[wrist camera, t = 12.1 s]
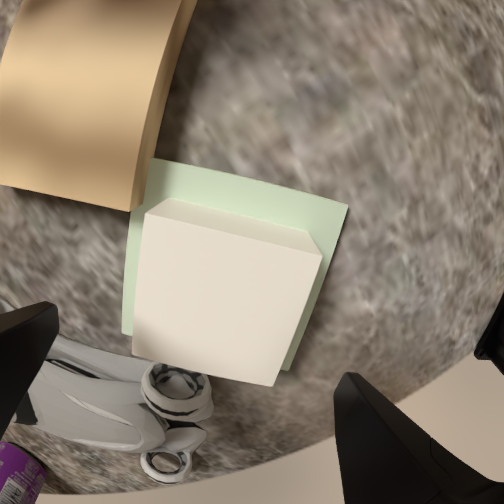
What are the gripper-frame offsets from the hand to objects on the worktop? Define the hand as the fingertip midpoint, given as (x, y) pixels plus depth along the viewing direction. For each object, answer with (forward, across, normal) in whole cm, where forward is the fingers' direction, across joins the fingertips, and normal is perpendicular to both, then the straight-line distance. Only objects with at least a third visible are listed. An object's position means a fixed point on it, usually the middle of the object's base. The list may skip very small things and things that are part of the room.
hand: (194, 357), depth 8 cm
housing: (+6, +8, -10) cm, 15 cm away
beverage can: (+6, +19, +31) cm, 37 cm away
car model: (+7, +11, +11) cm, 17 cm away
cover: (+6, 0, 0) cm, 6 cm away
